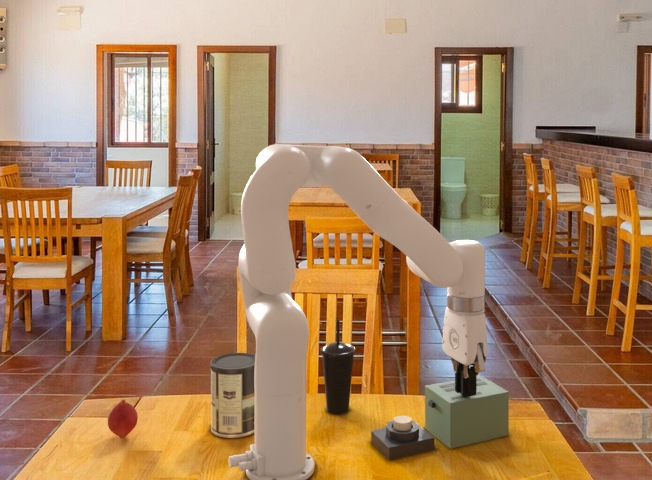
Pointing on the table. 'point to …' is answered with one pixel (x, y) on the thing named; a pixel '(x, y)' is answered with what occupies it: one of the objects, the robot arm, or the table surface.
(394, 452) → the control block
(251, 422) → the coffee can
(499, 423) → the toaster
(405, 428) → the button
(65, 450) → the table surface
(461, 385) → the slider
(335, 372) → the drinking cup
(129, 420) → the onion
